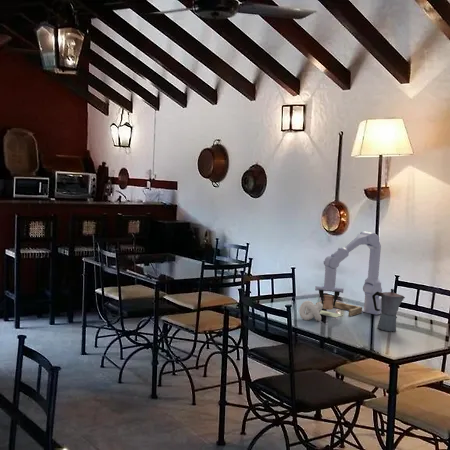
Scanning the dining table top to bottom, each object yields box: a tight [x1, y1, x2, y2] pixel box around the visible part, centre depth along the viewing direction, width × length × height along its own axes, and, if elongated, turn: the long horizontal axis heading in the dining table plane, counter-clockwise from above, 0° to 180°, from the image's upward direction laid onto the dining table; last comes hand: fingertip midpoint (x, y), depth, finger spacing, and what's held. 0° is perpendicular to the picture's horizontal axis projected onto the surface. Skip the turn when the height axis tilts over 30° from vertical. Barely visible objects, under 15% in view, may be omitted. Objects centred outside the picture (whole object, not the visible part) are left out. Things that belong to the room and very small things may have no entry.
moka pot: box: [372, 288, 406, 333], centre depth 299 cm, size 10×15×20 cm, turn 89°
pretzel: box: [298, 300, 324, 322], centre depth 309 cm, size 11×12×9 cm
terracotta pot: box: [322, 294, 334, 311], centre depth 325 cm, size 6×6×6 cm
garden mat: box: [320, 310, 343, 318], centre depth 325 cm, size 14×8×1 cm, turn 51°
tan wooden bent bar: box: [315, 300, 363, 317], centre depth 334 cm, size 21×13×3 cm, turn 51°
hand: (328, 305), depth 325 cm, fingers closed on terracotta pot, 5 cm apart
